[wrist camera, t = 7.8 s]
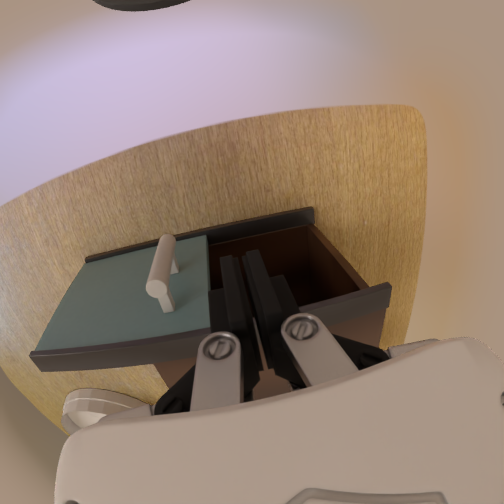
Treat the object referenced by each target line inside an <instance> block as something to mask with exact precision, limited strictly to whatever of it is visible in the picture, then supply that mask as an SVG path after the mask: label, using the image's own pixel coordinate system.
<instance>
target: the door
mask: <svg viewBox="0 0 504 504" xmlns="http://www.w3.org/2000/svg"><path fill="white" fill-rule="evenodd" d="M208 291H211V288H210V271H209V252H208V241H207V237H206V235H203V236H198V237H194V238H190V239H185V240H181V241H176V239H175V237H174V236H173V235H171V234H164V235H162V236H161V238H160V240H159V243H158V246H155V247H151V248H146V249H142V250H138V251H134V252H130V253H126V254H122V255H117V256H113V257H109V258H105V259H101V260H97V261H93V262H90V263H86V264H84V265H83V267H82V268H81V270H80V271H79V273H78V274H77V276H76V277H75V279H74V281H73V282H72V284H71V285H70V287H69V289H68V290H67V292H66V294H65V295H64V297H63V299H62V300H61V302H60V304H59V305H58V307H57V309H56V311H55V313H54V314H53V316H52V318H51V320H50V322H49V323H48V325H47V327H46V329H45V331H44V333H43V335H42V337H41V339H40V341H39V343H38V345H37V347H36V349H35V351H39V350H52V349H64V348H74V347H84V346H93V345H101V344H109V343H117V342H124V341H131V340H138V339H145V338H151V337H157V336H164V335H169V334H175V333H181V332H187V331H192V330H197V329H203V328H208V327H210V316H209V303H208Z"/></svg>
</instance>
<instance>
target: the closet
mask: <svg viewBox="0 0 504 504" xmlns="http://www.w3.org/2000/svg"><path fill="white" fill-rule="evenodd" d="M314 224H315V220H314V208H313V207H306V208H301V209H295V210H290V211H285V212H280V213H275V214H270V215H265V216H260V217H255V218H250V219H245V220H241V221H236V222H231V223H227V224H222V225H217V226H213V227H208V228H204V229H199V230H195V231H190V232H186V233H182V234H177V235H173V236H174V237H175V239H176V241H181V240H185V239H190V238H194V237H198V236H203V235H206V237H207V241H208V252H209V271H210V288H211V290H215V289H220V288H224V287H223V280H222V273H221V265H220V257H225V256H229V255H232V258H236V257H238V261H239V265H240V269H241V273H242V277H243V281H244V285H245V289H246V293H247V297H248V301H249V305H250V309H251V313H252V317H253V322H254V326H255V331H256V336H257V340H258V345H259V350H260V354H261V359H262V363H263V368H264V371H260V372H259V375H260V381H259V382H258V383H257V385H256V386H255V387H254V388H253V389H254V394H255V400H260V399H264V398H268V397H273V396H277V395H281V394H285V393H289V392H291V390H290V388H289V386H288V384H287V380H286V379H283V378H281V377H279V376H277V375H276V376H275V372H274V369H269V370H268V367H267V363H266V359H265V355H264V352H263V348H262V344H261V340H260V337H259V333H258V329H257V325H256V321H255V318H254V314H253V310H252V306H251V301H250V296H249V291H248V286H247V281H246V276H245V271H244V266H243V261H242V256H245V255H246V252H248V251H252V250H257V249H258V250H259V252H260V255H261V257H262V260H263V262H264V265H265V268H266V270H267V273H268V275H269V278H270V277H274V276H279V275H284V277H285V279H286V281H287V283H288V286H289V288H290V290H291V292H292V294H293V296H294V299H295V301H296V303H297V305H298V307H299V310H300V312H301V313H308V314H312V315H314V316H316V317H318V318H319V319H320V320H321V321H322V323H323V324H324V325H325V327H326V328H327V329H328V330H329V332H330V333H332V334H335V335H338V336H342V337H345V338H348V339H351V340H354V341H358V342H361V343H364V344H368V345H371V346H374V347H377V348H378V347H379V342H380V338H381V333H382V328H383V323H384V318H385V313H386V308H388V307H389V302H390V297H391V290H392V286H391V285H390V284H389V282H385V283H382V284H379V285H376V286H372V287H369V286H368V285H367V283H366V282H365V281H364V280H363V279H362V278H361V276H360V275H359V274H358V273H357V272H356V271H355V269H354V268H353V267H352V266H351V265H350V264H349V263H348V261H347V260H346V259H345V258H344V257H343V256H342V255H341V254H340V252H339V251H338V250H337V249H336V248H335V247H334V246H333V245H332V244H331V242H330V241H329V240H328V239H327V238H326V237H325V236H324V235H323V234H322V233H321V232H320V230H319V229H318V228H317V227H316V226H315V225H314ZM159 240H160V239H156V240H152V241H148V242H144V243H140V244H135V245H131V246H127V247H123V248H119V249H115V250H112V251H108V252H104V253H100V254H96V255H92V256H88V257H86V258H85V262H86V263H90V262H93V261H97V260H101V259H105V258H109V257H113V256H117V255H122V254H126V253H130V252H134V251H138V250H142V249H146V248H151V247H155V246H158V243H159ZM210 334H211V329H210V327H208V328H203V329H197V330H192V331H187V332H181V333H175V334H169V335H164V336H157V337H151V338H145V339H138V340H131V341H124V342H117V343H109V344H101V345H93V346H84V347H74V348H64V349H52V350H39V351H31V353H30V355H29V357H30V358H31V360H32V361H33V362H34V363H35V365H36V366H37V367H38V368H39V370H40V371H41V372H54V371H79V370H95V369H108V368H119V367H129V366H138V365H146V364H154V366H155V367H156V369H157V371H158V372H159V374H160V375H161V377H162V379H163V380H164V382H165V383H166V385H167V386H168V388H169V389H170V388H171V387H172V386H173V385H174V384H175V383H176V382H177V381H178V380H179V379H180V378H181V377H182V376H183V375H184V374H185V373H187V372H188V371H189V370H190V369H191V368H192V367H193V366H194V365H195V364H196V361H197V354H198V348H199V345H200V343H201V342H202V340H203V339H204V338H205V337H207V336H208V335H210Z"/></svg>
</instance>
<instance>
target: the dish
mask: <svg viewBox="0 0 504 504" xmlns="http://www.w3.org/2000/svg"><path fill="white" fill-rule="evenodd" d="M142 405H146V403H144V402H142V401H140V400H138V399H135V398H132V397H130V396H127V395H124V394H121V393H116V392H112V391H108V390H102V389H94V388H87V389H78V390H75V391H72V392H70V393H69V394H68V395H67V397H66V400H65V404H64V407H63V415H62V419H61V423H62V425H63V427H64V429H65V430H66V431H67V432H68V433H69V434H70V435H72V434H73V433H75V432H76V431H78V430H80V429H82V428H84V427H87V426H89V425H92V424H95V423H97V422H98V421H99V420H100V419H101V418H102V417H104V416H106V415H109V414H113V413H117V412H121V411H125V410H128V409H132V408H135V407H139V406H142Z"/></svg>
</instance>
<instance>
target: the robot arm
mask: <svg viewBox="0 0 504 504" xmlns="http://www.w3.org/2000/svg"><path fill="white" fill-rule="evenodd" d="M242 261H243V266H244V271H245V276H246V281H247V286H248V291H249V296H250V301H251V306H252V310H253V314H254V318H255V321H256V325H257V329H258V333H259V337H260V340H261V344H262V348H263V352H264V355H265V359H266V363H267V367H268V370H269V369H274V372H275V376H276V375H277V376H279V377H281V378H283V379H286V380H287V384H288V386H289V388H290V390H291V392H289V393H285V394H281V395H277V396H273V397H268V398H264V399H260V400H255V394H254V389H253V388H254V387H255V386H256V385H257V383H258V382H259V381H260V375H259V372H260V371H264V368H263V363H262V359H261V354H260V350H259V345H258V340H257V336H256V331H255V326H254V322H253V317H252V313H251V309H250V305H249V301H248V297H247V293H246V289H245V285H244V281H243V277H242V273H241V269H240V265H239V261H238V257H236V258H232V255H229V256H225V257H220V265H221V273H222V280H223V287H224V288H220V289H215V290H211V291H208V303H209V316H210V329H211V334H210V335H208V336H207V337H205V338H204V339H203V340H202V342H201V343H200V345H199V348H198V354H197V361H196V364H195V365H194V366H193V367H192V368H191V369H190V370H189V371H188V372H187V373H185V374H184V375H183V376H182V377H181V378H180V379H179V380H178V381H177V382H176V383H175V384H174V385H173V386H172V387H171V388H170V389H169V390H168V391H167V392H166V393H165V394H164V395H163V396H162V397H161V398H160V399H159V400H158V402H157V403H156V404H155V405H152V406H151V405H150V404H146V405H142V406H139V407H135V408H132V409H128V410H125V411H121V412H117V413H113V414H109V415H106V416H104V417H102V418H101V419H100V420H99V421H98V422H97V423H95V424H92V425H89V426H87V427H84V428H82V429H80V430H78V431H76V432H75V433H73V434H72V435H71V436H70V437H69V438H68V439H67V441H66V442H65V444H64V446H63V449H62V451H61V455H60V459H59V463H58V469H57V475H56V484H55V497H54V504H504V363H503V362H502V361H501V359H500V358H499V357H498V356H497V355H496V354H495V353H494V352H493V351H492V350H491V349H490V348H489V347H488V346H487V345H486V344H484V343H482V342H481V341H479V340H478V339H474V338H468V337H459V338H449V339H444V340H437V339H428V340H423V341H418V342H413V343H408V344H403V345H397V346H392V347H388V350H384V351H383V350H382V349H380V348H377V347H374V346H371V345H368V344H364V343H361V342H358V341H354V340H351V339H348V338H345V337H342V336H338V335H335V334H332V333H330V332H329V330H328V329H327V328H326V327H325V325H324V324H323V323H322V321H321V320H320V319H319V318H318V317H316V316H314V315H312V314H308V313H301V312H300V310H299V307H298V305H297V303H296V301H295V299H294V296H293V294H292V292H291V290H290V288H289V286H288V283H287V281H286V279H285V277H284V275H279V276H274V277H270V278H269V275H268V273H267V270H266V268H265V265H264V262H263V260H262V257H261V255H260V252H259V250H258V249H257V250H252V251H248V252H246V255H245V256H242Z"/></svg>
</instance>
